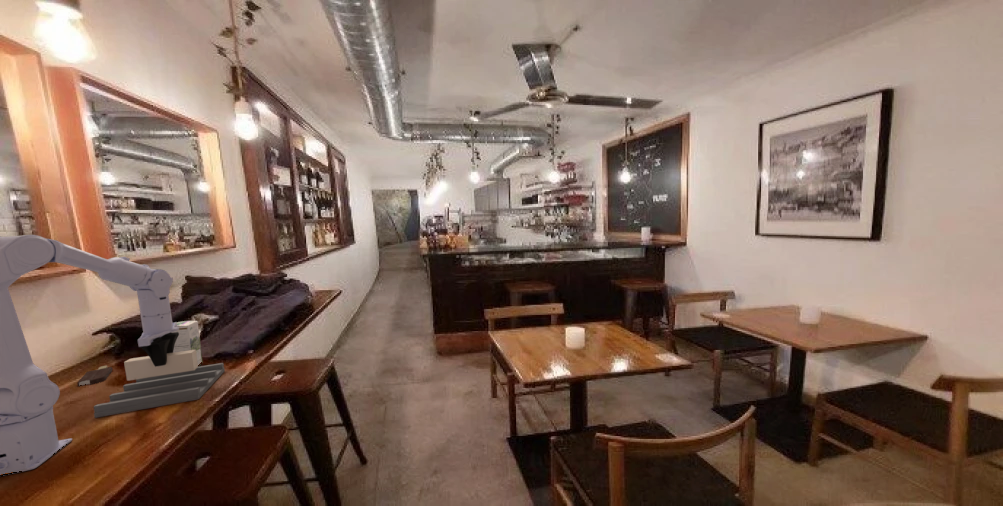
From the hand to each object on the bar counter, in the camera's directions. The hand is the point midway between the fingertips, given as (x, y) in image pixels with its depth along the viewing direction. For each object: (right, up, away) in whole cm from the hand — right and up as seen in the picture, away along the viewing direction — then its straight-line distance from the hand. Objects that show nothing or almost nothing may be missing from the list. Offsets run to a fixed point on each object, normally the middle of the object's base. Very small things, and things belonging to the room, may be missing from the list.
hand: (163, 363), depth 95 cm
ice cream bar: (-32, -8, +13) cm, 36 cm away
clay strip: (0, -3, 0) cm, 3 cm away
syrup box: (-8, -7, +16) cm, 19 cm away
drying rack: (0, -8, +1) cm, 8 cm away
